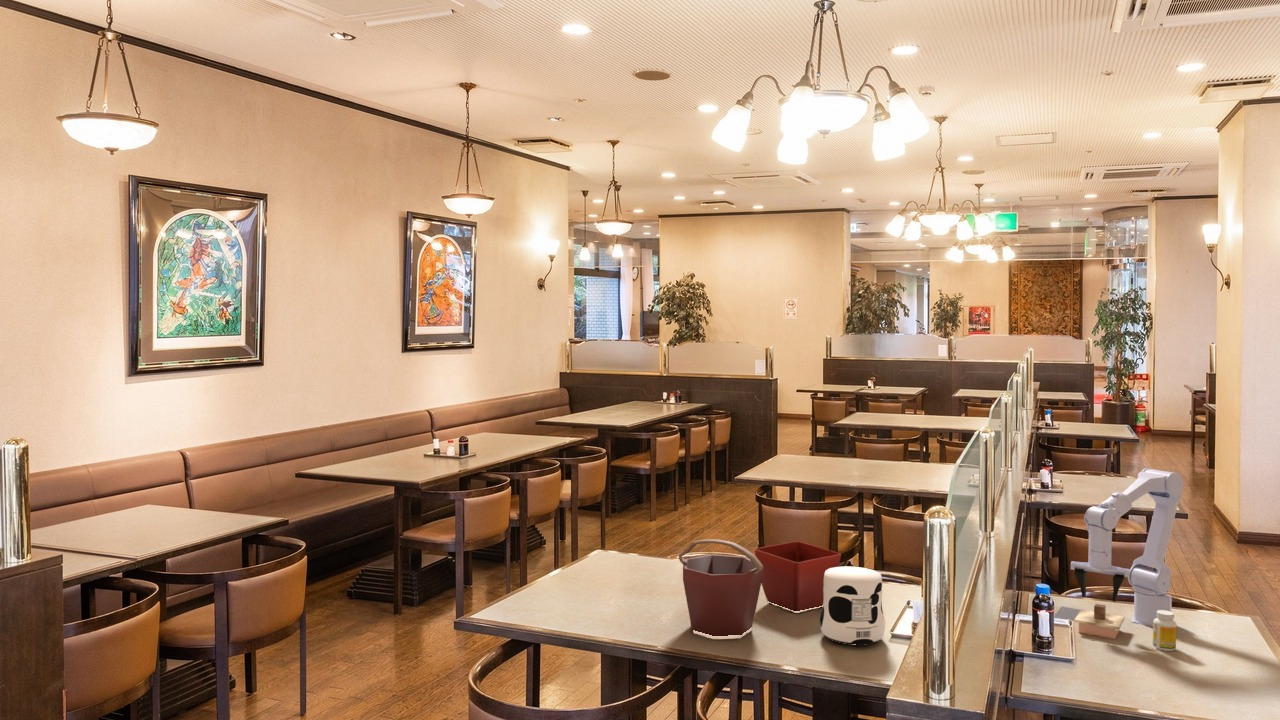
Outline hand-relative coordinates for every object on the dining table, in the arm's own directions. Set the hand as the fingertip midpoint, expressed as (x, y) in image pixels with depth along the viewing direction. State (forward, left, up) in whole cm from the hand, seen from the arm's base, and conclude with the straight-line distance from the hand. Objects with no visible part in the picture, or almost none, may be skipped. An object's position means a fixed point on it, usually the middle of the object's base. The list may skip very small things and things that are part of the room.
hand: (1099, 598), depth 252 cm
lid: (0, +1, -6) cm, 6 cm away
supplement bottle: (-16, +4, -10) cm, 19 cm away
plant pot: (+79, +28, -10) cm, 84 cm away
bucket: (+87, +60, -10) cm, 106 cm away
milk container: (+54, +46, -10) cm, 71 cm away
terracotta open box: (0, +1, -9) cm, 9 cm away
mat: (+6, -11, -9) cm, 16 cm away
